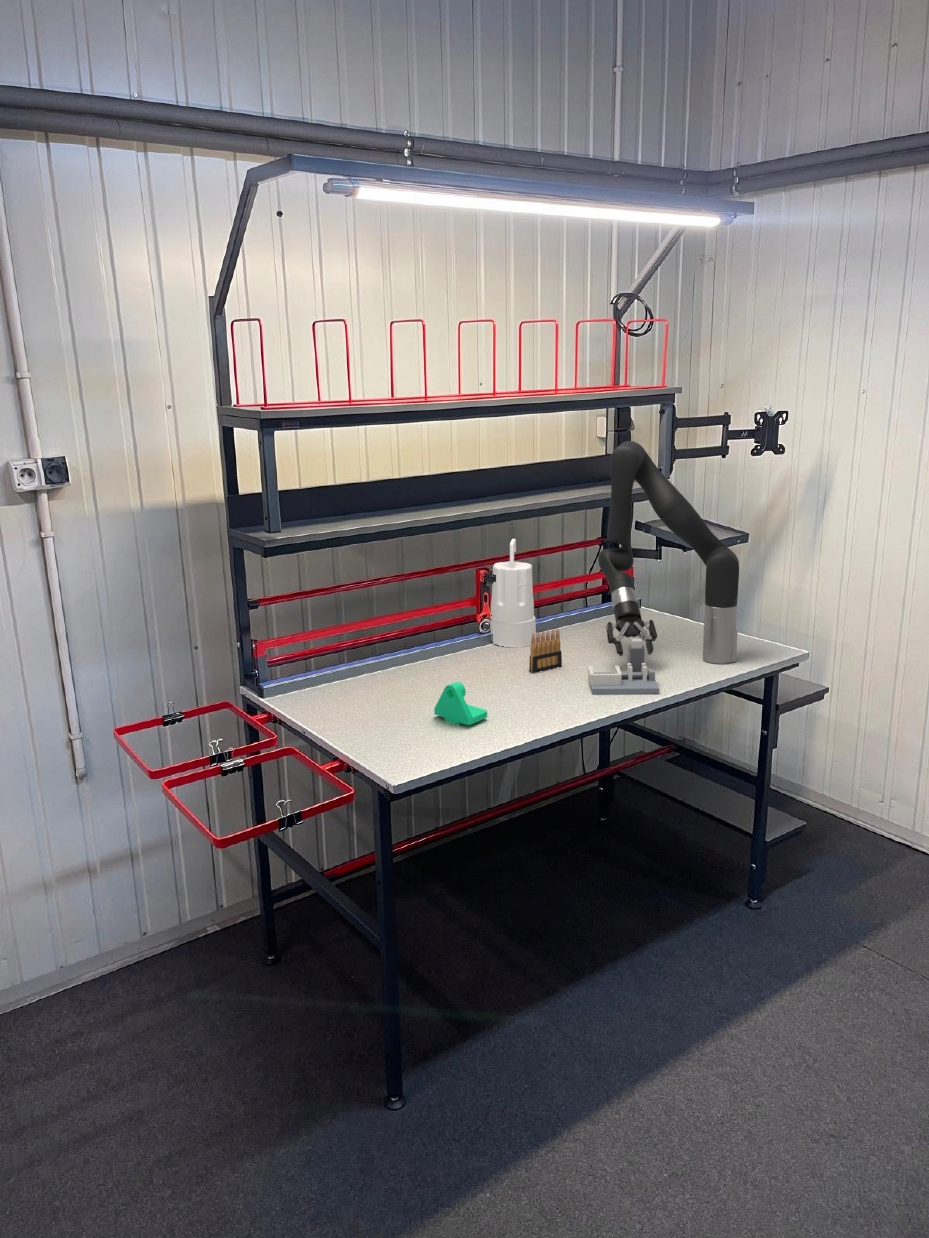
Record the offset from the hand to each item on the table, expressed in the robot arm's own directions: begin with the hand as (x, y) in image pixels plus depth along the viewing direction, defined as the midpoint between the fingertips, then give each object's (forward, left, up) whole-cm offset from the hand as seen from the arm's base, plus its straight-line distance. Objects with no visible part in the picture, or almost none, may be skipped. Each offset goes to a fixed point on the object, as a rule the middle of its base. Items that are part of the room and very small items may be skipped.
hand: (635, 654), depth 260 cm
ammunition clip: (+26, -4, -6) cm, 27 cm away
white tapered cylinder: (+36, -34, -6) cm, 50 cm away
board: (+5, +11, -6) cm, 13 cm away
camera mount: (+48, +35, -6) cm, 60 cm away
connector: (0, 0, -6) cm, 6 cm away
